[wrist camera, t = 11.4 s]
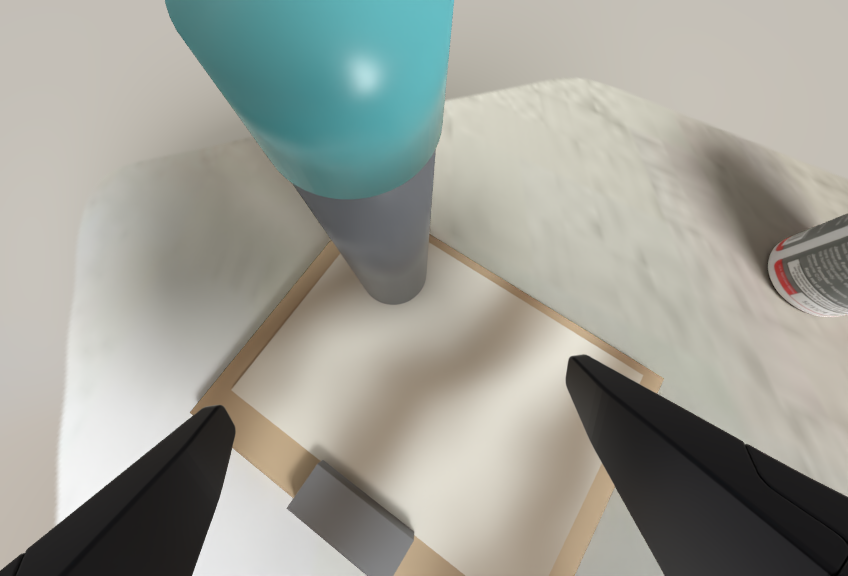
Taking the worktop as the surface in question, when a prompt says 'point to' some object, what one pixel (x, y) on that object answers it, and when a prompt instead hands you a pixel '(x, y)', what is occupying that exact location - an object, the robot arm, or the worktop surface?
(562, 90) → the worktop surface
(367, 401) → the clipboard
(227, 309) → the worktop surface
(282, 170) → the ball
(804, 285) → the pill bottle
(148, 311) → the worktop surface
